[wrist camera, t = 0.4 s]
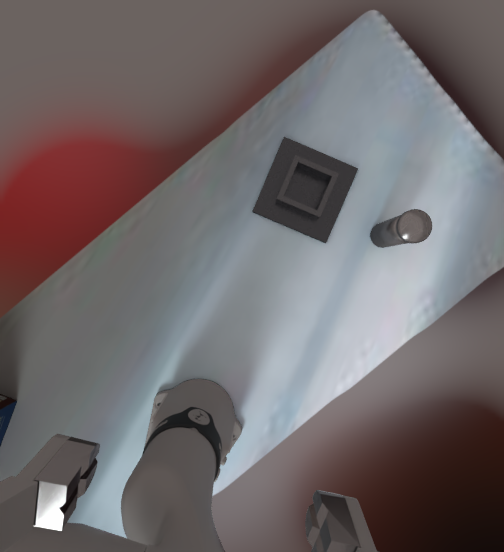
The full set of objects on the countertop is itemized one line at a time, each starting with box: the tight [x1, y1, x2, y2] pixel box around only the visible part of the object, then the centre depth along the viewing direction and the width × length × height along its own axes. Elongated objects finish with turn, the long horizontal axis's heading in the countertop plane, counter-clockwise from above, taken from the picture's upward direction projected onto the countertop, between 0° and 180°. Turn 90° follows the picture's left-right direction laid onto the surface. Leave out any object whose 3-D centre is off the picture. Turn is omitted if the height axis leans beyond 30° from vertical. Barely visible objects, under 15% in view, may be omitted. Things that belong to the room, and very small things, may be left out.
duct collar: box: [253, 137, 358, 243], centre depth 52 cm, size 16×16×3 cm
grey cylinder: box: [370, 209, 432, 248], centre depth 48 cm, size 5×5×11 cm
